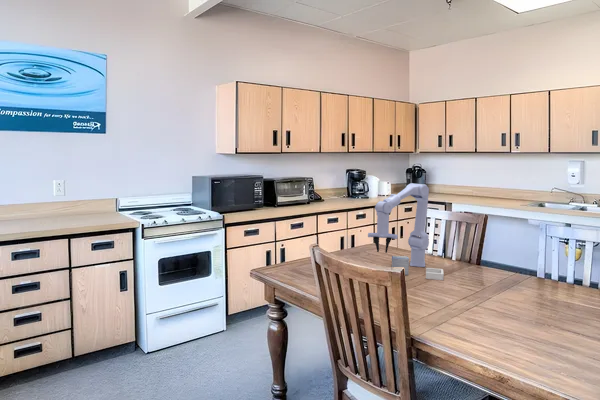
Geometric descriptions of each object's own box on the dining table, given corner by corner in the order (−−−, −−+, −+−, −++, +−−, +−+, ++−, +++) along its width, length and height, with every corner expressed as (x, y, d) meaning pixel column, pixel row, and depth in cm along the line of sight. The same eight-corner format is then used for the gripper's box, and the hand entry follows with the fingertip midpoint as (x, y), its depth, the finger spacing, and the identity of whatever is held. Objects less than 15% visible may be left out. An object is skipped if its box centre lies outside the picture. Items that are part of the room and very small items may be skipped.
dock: (425, 273, 210) (426, 267, 210) (442, 275, 208) (443, 269, 207) (425, 278, 201) (426, 272, 201) (443, 280, 199) (443, 274, 199)
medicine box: (407, 272, 211) (407, 256, 210) (408, 275, 207) (409, 258, 206) (391, 272, 212) (391, 255, 211) (392, 274, 208) (392, 257, 207)
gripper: (367, 225, 208) (366, 252, 209) (397, 227, 203) (396, 254, 205) (369, 223, 214) (368, 249, 216) (398, 225, 210) (397, 251, 212)
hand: (382, 252), depth 211 cm, fingers open, 3 cm apart
